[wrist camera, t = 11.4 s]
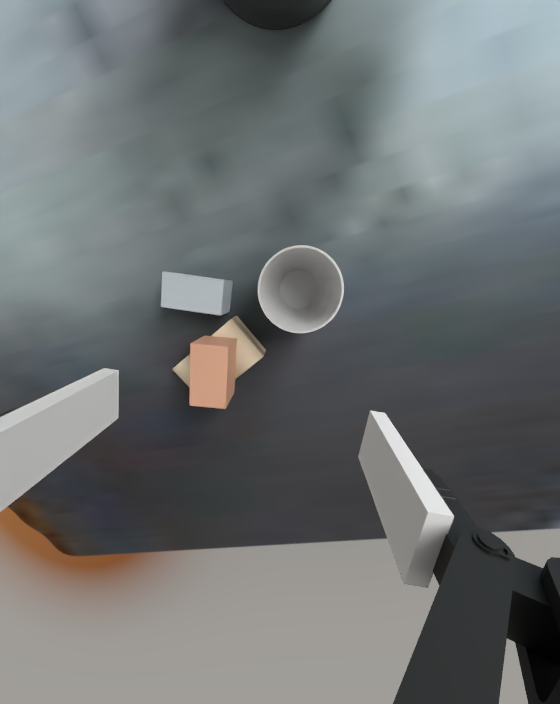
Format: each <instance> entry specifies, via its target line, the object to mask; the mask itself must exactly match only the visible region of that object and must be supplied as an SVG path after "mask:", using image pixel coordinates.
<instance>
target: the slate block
mask: <svg viewBox="0 0 560 704" xmlns="http://www.w3.org/2000/svg"><path fill="white" fill-rule="evenodd" d="M232 284H233V281H231V280H224V279H217V278H210V277H203V276H196V275H189V274H182V273H174V272H165V271H162V292H161V307H165V308H172V309H179V310H186V311H193V312H200V313H207V314H214V315H220V316H221V315H223V314H226V313H228V312H230V304H231V294H232Z"/></svg>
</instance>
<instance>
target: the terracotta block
mask: <svg viewBox="0 0 560 704" xmlns="http://www.w3.org/2000/svg"><path fill="white" fill-rule="evenodd" d="M236 350H237V338H227V337H216V336H203V337H201V338H199V339H197V340H196V341H194V342H192V343H190V406H200V407H211V408H221V409H226V407H227V405H228V403H229V402H230V400H231V398H232V396H233V394H234V389H235V370H236Z"/></svg>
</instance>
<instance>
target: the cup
mask: <svg viewBox="0 0 560 704" xmlns="http://www.w3.org/2000/svg"><path fill="white" fill-rule="evenodd" d="M343 294H344V283H343V278H342V274H341V272H340V270H339V268H338V266H337V264H336V263H335V261H334V260H333V259H332V258H331V257H330V256H329V255H328V254H326V253H325V252H323V251H322V250H320V249H317V248H315V247H311V246H305V245H298V246H292V247H288V248H285V249H283V250H281V251H279V252H278V253H276V254H275V255H274V256H273V257H272V258H271V259H270V260H269V261H268V262H267V263H266V265H265V266H264V268H263V270H262V272H261V274H260V277H259V282H258V298H259V302H260V305H261V308H262V310H263V312H264V314H265V315H266V316H267V318H268V319H269V320H270V321H271V322H272V323H273V324H275V325H276V326H277V327H279V328H281V329H283V330H285V331H288V332H292V333H308V332H312V331H315V330H317V329H320V328H321V327H323V326H325V325H326V324H327V323H328V322H330V321H331V320H332V318H333V317H334V316H335V315H336V313H337V312H338V310H339V308H340V306H341V303H342V299H343Z"/></svg>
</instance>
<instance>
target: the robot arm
mask: <svg viewBox="0 0 560 704" xmlns="http://www.w3.org/2000/svg"><path fill="white" fill-rule="evenodd" d="M329 1H330V0H224V2H225V3H226V4H227V5H228V6H229V8H230V9H231V10H232V11H233V12H234V13H236V14H237V15H238V16H239V17H241V18H242V19H244V20H245V21H247V22H249V23H251V24H253V25H256V26H259V27H263V28H268V29H284V28H289V27H293V26H296V25H299V24H301V23H303V22H305V21H307V20H308V19H310V18H311V17H313V16H314V15H316V14H317V13H318V12H319V11H320V10H321V9H322V8H323V7H324V6H325V5H326V4H327V3H328V2H329ZM118 413H119V370H113V369H107V368H103V369H101V370H99V371H97V372H95V373H93V374H91V375H89V376H86V377H84V378H82V379H80V380H78V381H76V382H74V383H72V384H69V385H67V386H65V387H63V388H61V389H59V390H57V391H55V392H53V393H50V394H48V395H46V396H44V397H42V398H40V399H38V400H36V401H33V402H31V403H29V404H27V405H25V406H23V407H20V408H16V409H13V410H10V411H8V412H5V413H3V414H1V415H0V512H1V511H2V510H3V509H5V508H6V507H7V506H9V505H10V504H11V503H12V502H14V501H15V500H16V499H17V498H19V497H20V496H21V495H22V494H24V493H25V492H26V491H27V490H29V489H30V488H31V487H33V486H34V485H35V484H36V483H38V482H39V481H40V480H41V479H43V478H44V477H45V476H46V475H48V474H49V473H50V472H51V471H53V470H54V469H55V468H56V467H58V466H59V465H60V464H61V463H63V462H64V461H65V460H66V459H68V458H69V457H70V456H72V455H73V454H74V453H75V452H77V451H78V450H79V449H80V448H82V447H83V446H84V445H85V444H87V443H88V442H89V441H90V440H92V439H93V438H94V437H95V436H97V435H98V434H99V433H100V432H102V431H103V430H104V429H106V428H107V427H108V426H109V425H111V424H112V423H113V422H114V421H116V420H117V419H118ZM358 457H359V460H360V463H361V466H362V469H363V471H364V474H365V477H366V480H367V483H368V485H369V488H370V491H371V494H372V497H373V499H374V502H375V505H376V508H377V511H378V513H379V516H380V519H381V522H382V525H383V527H384V530H385V533H386V536H387V539H388V541H389V544H390V547H391V550H392V552H393V555H394V558H395V561H396V564H397V567H398V569H399V572H400V575H401V578H402V581H403V583H404V584H408V585H414V586H420V587H426V588H428V586H429V583H430V581H431V578H432V575H433V573H434V575H435V577H436V579H437V581H438V583H439V585H440V586H439V589H438V592H437V594H436V596H435V599H434V601H433V604H432V606H431V609H430V611H429V614H428V617H427V619H426V622H425V624H424V627H423V630H422V632H421V635H420V637H419V639H418V642H417V645H416V647H415V650H414V652H413V654H412V657H411V659H410V662H409V665H408V667H407V670H406V672H405V675H404V677H403V680H402V682H401V685H400V687H399V690H398V692H397V695H396V697H395V700H394V703H393V704H499V696H500V687H501V680H502V671H503V663H504V655H505V647H506V639H507V638H508V639H510V640H512V641H514V642H515V643H516V648H517V652H518V656H519V662H520V666H521V671H522V676H523V680H524V685H525V690H526V694H527V699H528V704H560V558H553V557H552V558H550V559H548V560H547V562H546V564H545V566H544V568H541V567H538V566H536V565H533V564H530V563H528V562H526V561H523V560H520V559H518V558H516V557H515V555H514V554H513V552H512V551H511V549H510V548H509V547H508V546H507V545H506V544H505V543H504V542H503V541H502V540H501V539H499V538H498V537H496V536H495V535H494V534H492V533H491V532H489V531H487V530H484V529H482V528H479V527H477V526H476V524H475V523H474V522H473V520H472V519H471V518H470V516H469V515H468V513H467V512H466V511H465V509H464V508H463V507H462V505H461V504H460V503H459V501H458V500H456V497H455V496H454V494H453V493H452V492H451V491H450V489H449V488H448V486H447V485H446V484H445V482H444V481H443V479H441V478H440V477H439V476H438V475H437V474H435V473H434V472H433V471H432V470H429V469H422V468H421V466H420V465H419V463H418V462H417V460H416V459H415V457H414V456H413V454H412V453H411V451H410V450H409V448H408V447H407V445H406V444H405V442H404V441H403V439H402V438H401V436H400V435H399V433H398V432H397V430H396V429H395V427H394V426H393V424H392V423H391V421H390V420H389V418H388V417H387V415H386V414H385V413H382V412H376V411H370V413H369V417H368V421H367V425H366V429H365V433H364V437H363V441H362V445H361V449H360V453H359V456H358Z"/></svg>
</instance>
